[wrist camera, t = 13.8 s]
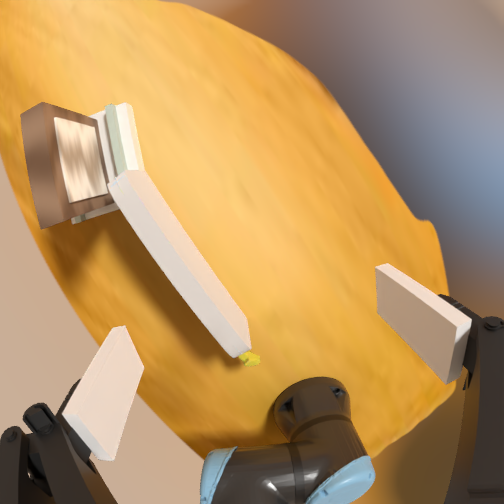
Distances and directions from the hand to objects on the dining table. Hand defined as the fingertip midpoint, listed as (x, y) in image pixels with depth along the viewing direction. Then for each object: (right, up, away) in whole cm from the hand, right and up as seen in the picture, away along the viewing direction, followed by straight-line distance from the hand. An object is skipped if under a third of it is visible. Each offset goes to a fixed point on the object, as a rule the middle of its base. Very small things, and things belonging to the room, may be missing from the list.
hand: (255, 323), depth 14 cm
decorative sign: (-8, +1, +29) cm, 31 cm away
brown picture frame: (-21, +15, +20) cm, 33 cm away
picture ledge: (-21, +16, +23) cm, 36 cm away
